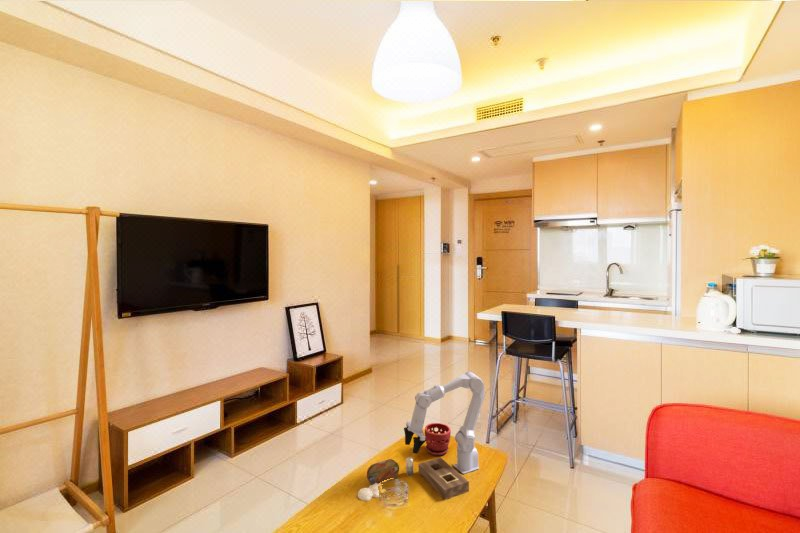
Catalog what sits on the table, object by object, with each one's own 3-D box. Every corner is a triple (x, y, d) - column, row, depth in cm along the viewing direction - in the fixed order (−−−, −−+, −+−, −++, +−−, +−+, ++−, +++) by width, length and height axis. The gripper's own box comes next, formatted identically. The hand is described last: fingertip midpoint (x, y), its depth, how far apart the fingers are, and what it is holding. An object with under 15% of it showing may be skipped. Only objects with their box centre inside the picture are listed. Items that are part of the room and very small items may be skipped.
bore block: (440, 465, 176) (440, 456, 176) (468, 491, 156) (468, 481, 156) (418, 472, 171) (418, 463, 171) (444, 499, 151) (444, 489, 151)
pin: (411, 471, 172) (411, 456, 172) (414, 474, 169) (414, 459, 169) (405, 473, 171) (404, 457, 171) (408, 476, 168) (408, 461, 168)
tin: (368, 487, 160) (368, 468, 160) (365, 483, 163) (365, 464, 163) (399, 477, 167) (399, 459, 167) (396, 474, 170) (396, 456, 170)
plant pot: (432, 460, 181) (431, 435, 181) (420, 447, 193) (420, 424, 193) (455, 454, 186) (455, 430, 186) (443, 442, 198) (442, 420, 198)
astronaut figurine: (388, 496, 155) (388, 489, 155) (360, 503, 150) (360, 496, 150) (381, 484, 163) (381, 477, 163) (355, 491, 158) (354, 484, 158)
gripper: (403, 411, 174) (396, 440, 173) (418, 426, 161) (411, 457, 160) (416, 412, 177) (409, 440, 176) (431, 426, 164) (424, 457, 163)
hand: (411, 448), depth 169 cm, fingers open, 7 cm apart
